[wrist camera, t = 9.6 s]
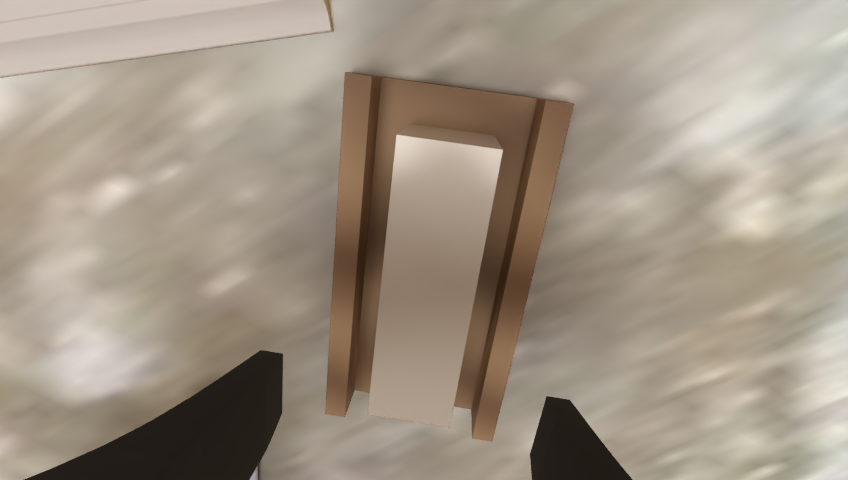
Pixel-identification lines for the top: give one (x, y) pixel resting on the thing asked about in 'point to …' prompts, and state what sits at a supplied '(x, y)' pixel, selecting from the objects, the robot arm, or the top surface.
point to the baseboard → (142, 29)
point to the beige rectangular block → (431, 269)
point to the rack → (505, 242)
